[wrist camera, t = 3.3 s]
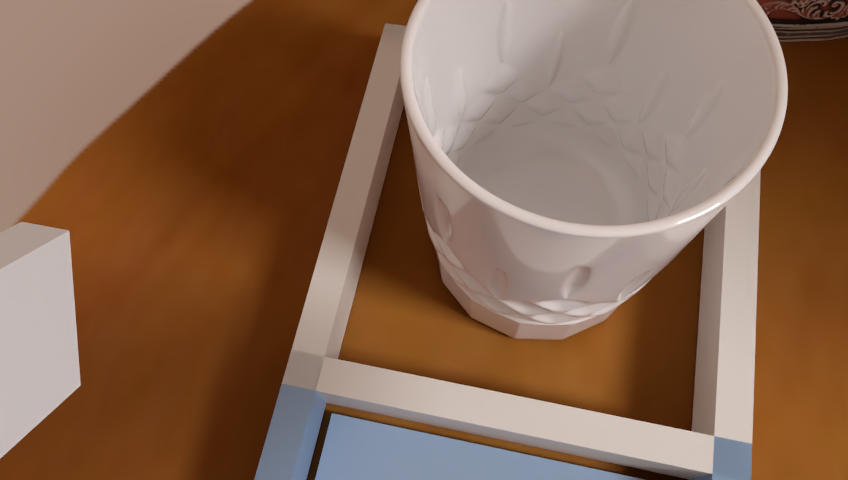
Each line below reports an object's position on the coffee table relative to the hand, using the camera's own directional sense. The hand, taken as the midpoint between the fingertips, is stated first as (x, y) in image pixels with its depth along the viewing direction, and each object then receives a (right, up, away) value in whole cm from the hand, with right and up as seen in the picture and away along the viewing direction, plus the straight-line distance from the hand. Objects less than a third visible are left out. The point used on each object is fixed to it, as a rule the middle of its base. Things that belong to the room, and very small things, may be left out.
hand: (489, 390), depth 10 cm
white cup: (+3, +2, +14) cm, 14 cm away
